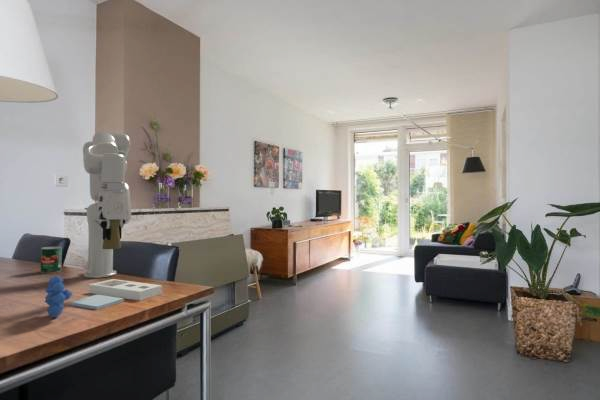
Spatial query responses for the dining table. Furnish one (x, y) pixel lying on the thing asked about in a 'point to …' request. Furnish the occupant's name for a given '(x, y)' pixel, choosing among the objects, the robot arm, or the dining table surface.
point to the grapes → (56, 296)
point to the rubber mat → (96, 302)
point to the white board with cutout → (125, 289)
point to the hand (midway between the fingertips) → (112, 238)
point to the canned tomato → (51, 259)
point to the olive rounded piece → (113, 236)
